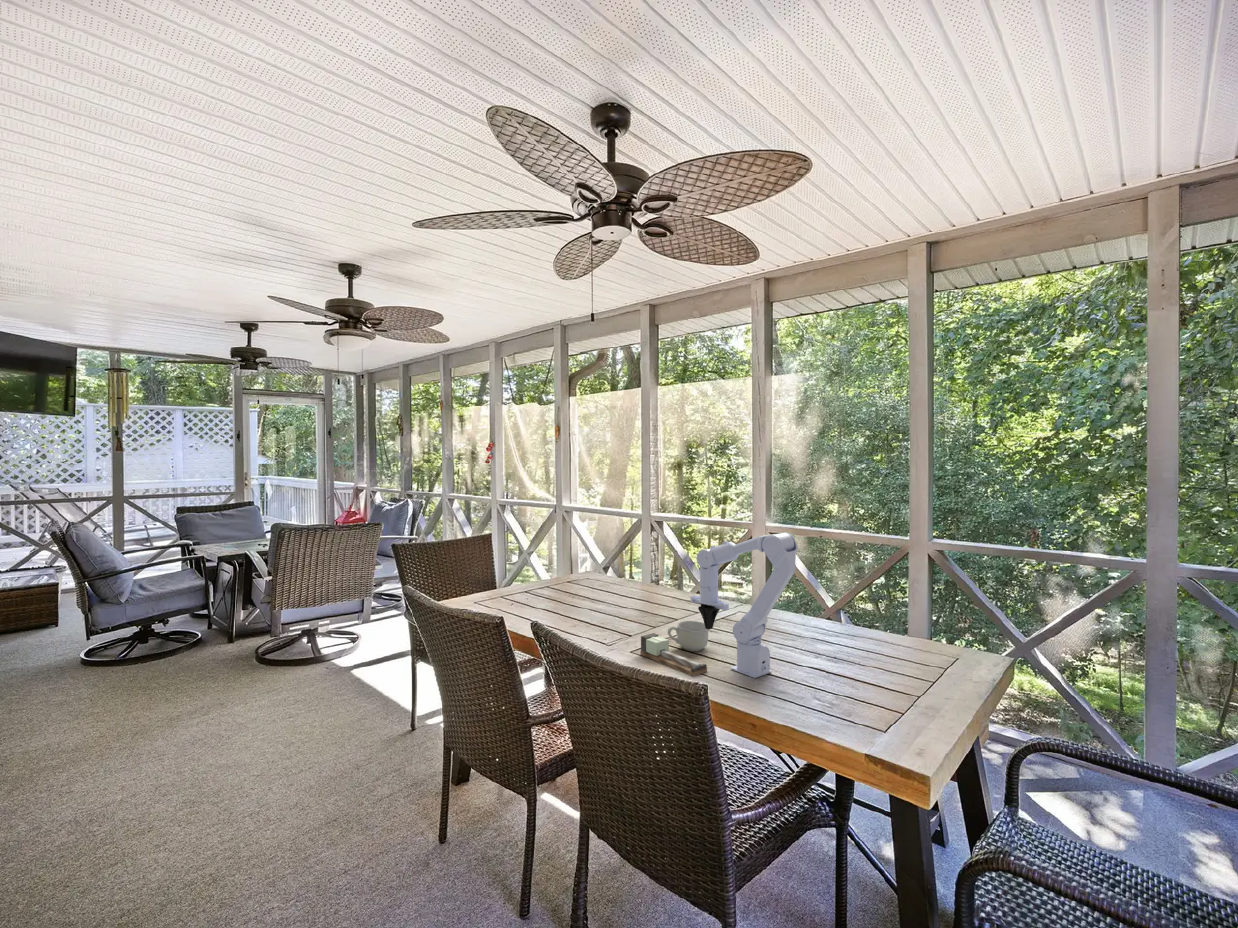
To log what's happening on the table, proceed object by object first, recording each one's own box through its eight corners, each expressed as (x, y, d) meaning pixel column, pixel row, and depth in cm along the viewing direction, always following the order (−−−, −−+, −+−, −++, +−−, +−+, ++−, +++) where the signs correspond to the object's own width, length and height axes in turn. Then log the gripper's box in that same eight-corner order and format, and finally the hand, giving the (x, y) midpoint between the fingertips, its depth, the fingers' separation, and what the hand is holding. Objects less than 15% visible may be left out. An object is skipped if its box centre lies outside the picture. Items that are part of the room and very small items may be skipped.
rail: (707, 671, 175) (707, 651, 175) (692, 676, 171) (693, 655, 171) (654, 650, 194) (654, 632, 194) (640, 654, 190) (640, 636, 190)
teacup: (708, 643, 201) (708, 621, 201) (709, 654, 190) (709, 630, 190) (667, 642, 203) (667, 619, 203) (667, 652, 192) (667, 628, 192)
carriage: (668, 652, 188) (668, 639, 188) (656, 655, 184) (656, 642, 184) (658, 648, 192) (658, 635, 191) (646, 651, 188) (646, 638, 188)
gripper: (734, 588, 183) (734, 631, 183) (700, 581, 194) (700, 621, 194) (720, 591, 178) (720, 635, 178) (686, 583, 189) (686, 625, 189)
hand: (709, 628), depth 186 cm, fingers closed
